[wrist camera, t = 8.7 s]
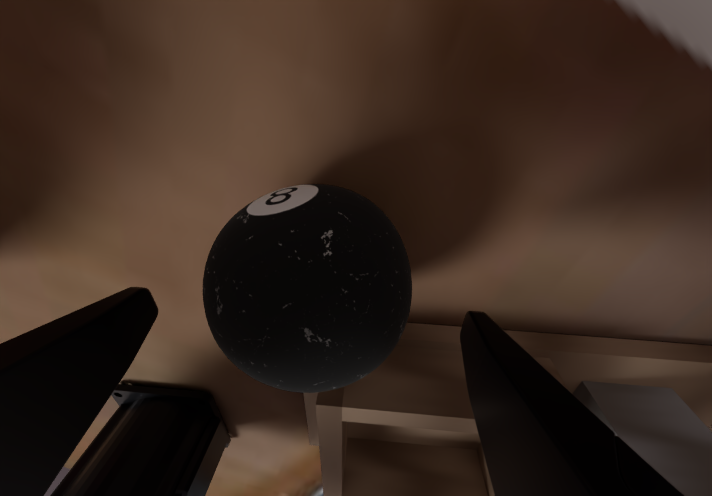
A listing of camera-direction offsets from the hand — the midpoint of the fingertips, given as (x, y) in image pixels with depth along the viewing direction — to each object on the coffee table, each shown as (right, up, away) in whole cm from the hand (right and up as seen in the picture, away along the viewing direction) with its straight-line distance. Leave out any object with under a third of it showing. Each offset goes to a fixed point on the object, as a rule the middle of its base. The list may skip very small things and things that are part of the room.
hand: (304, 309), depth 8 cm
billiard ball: (0, +2, +4) cm, 4 cm away
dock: (+9, -7, +8) cm, 14 cm away
